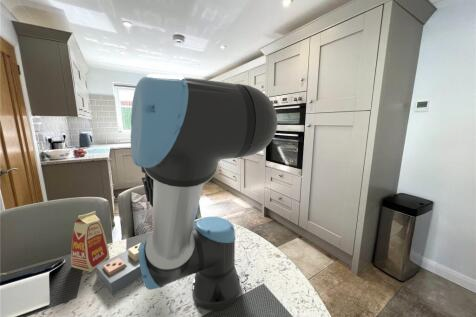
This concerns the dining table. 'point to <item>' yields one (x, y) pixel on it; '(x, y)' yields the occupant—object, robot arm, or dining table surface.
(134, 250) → the tile two
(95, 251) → the milk carton
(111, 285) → the button board
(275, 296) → the dining table surface
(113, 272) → the tile three
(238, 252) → the dining table surface
